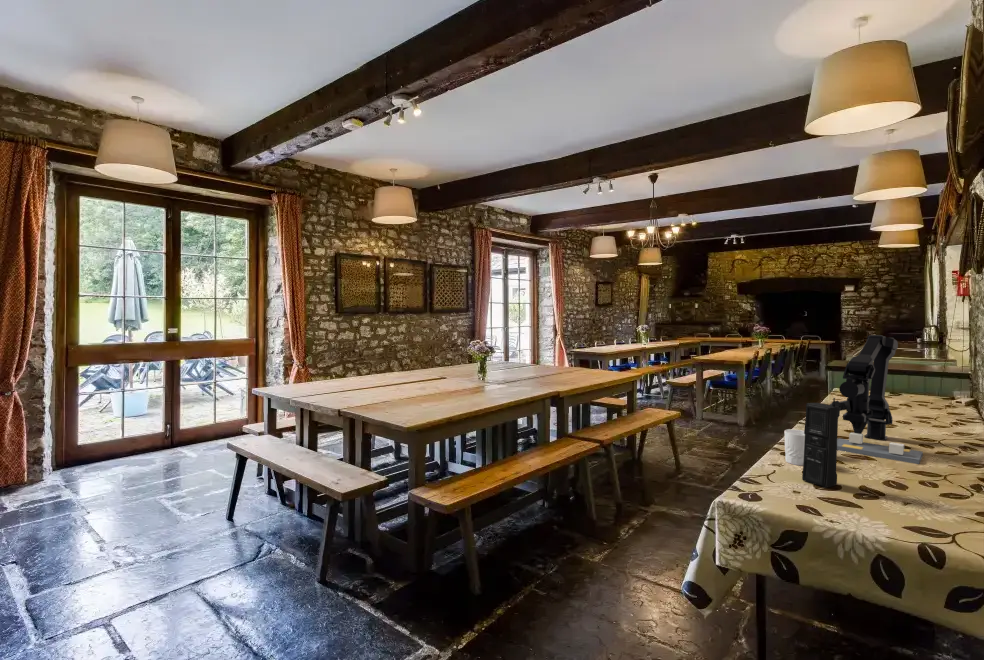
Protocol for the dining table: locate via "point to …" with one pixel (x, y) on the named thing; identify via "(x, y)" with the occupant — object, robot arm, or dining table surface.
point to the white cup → (794, 446)
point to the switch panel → (879, 451)
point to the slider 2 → (896, 448)
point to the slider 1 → (856, 438)
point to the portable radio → (821, 444)
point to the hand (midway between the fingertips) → (857, 437)
